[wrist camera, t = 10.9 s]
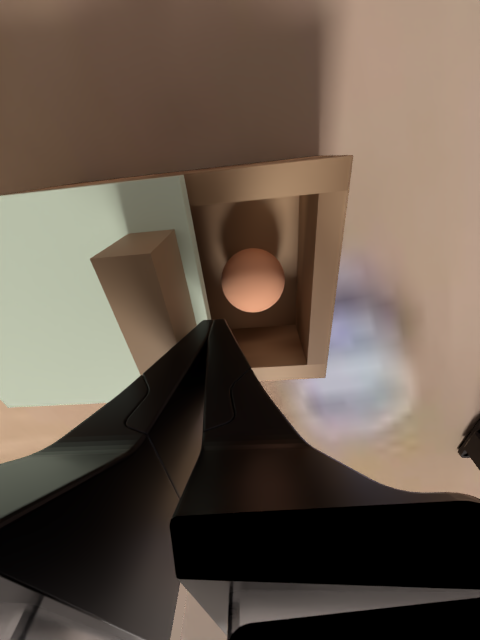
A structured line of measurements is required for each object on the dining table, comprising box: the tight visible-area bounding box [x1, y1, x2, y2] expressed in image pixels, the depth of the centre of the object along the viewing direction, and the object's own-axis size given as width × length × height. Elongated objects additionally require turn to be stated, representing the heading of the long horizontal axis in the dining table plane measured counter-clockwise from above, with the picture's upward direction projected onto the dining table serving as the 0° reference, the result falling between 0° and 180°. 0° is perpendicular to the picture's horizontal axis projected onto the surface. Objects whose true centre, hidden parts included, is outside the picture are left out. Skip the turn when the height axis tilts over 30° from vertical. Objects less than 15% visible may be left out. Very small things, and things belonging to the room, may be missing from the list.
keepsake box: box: [4, 155, 353, 381], centre depth 13 cm, size 12×10×4 cm
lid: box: [0, 175, 211, 408], centre depth 10 cm, size 12×10×3 cm
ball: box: [221, 248, 285, 312], centre depth 13 cm, size 3×3×3 cm
